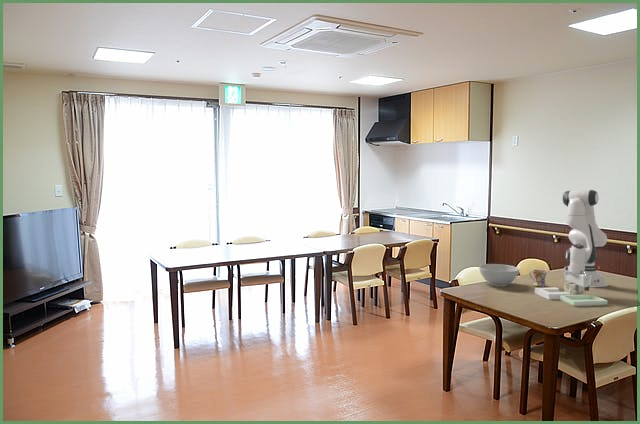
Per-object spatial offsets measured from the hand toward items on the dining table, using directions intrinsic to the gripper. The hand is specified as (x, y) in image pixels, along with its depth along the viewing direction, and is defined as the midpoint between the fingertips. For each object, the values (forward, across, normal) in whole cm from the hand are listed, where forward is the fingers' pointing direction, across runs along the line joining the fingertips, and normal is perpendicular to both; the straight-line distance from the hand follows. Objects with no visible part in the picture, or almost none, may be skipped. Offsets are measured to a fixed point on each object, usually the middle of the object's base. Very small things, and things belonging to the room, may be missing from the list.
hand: (575, 290), depth 334 cm
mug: (+3, +27, +10) cm, 29 cm away
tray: (+3, -17, +6) cm, 18 cm away
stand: (+3, 0, +16) cm, 17 cm away
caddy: (+3, 0, -1) cm, 3 cm away
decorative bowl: (+3, +33, +36) cm, 49 cm away
